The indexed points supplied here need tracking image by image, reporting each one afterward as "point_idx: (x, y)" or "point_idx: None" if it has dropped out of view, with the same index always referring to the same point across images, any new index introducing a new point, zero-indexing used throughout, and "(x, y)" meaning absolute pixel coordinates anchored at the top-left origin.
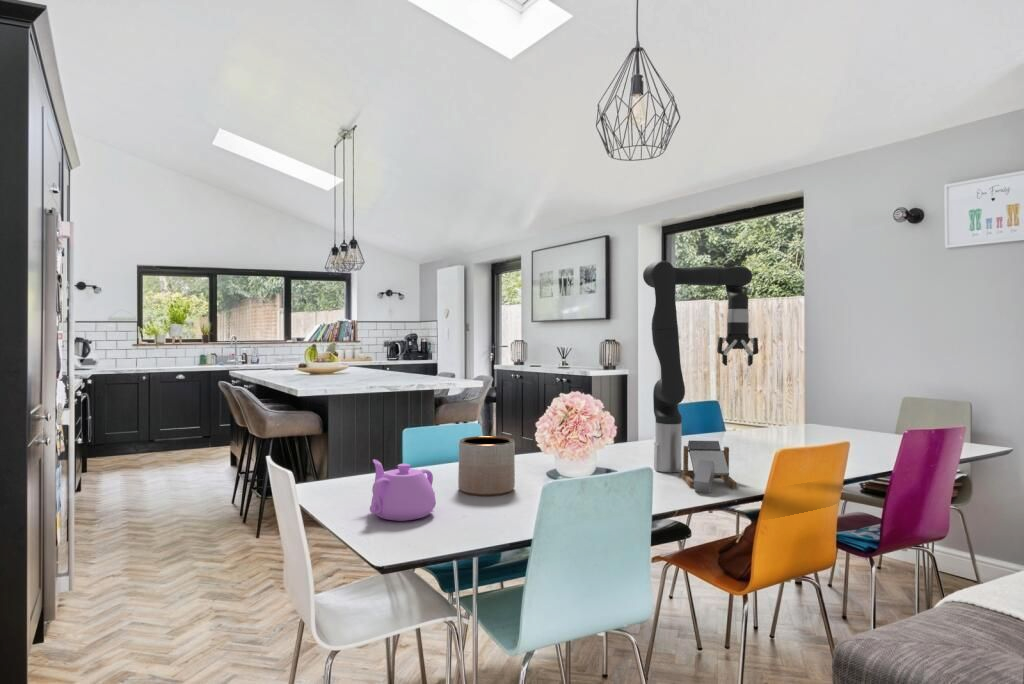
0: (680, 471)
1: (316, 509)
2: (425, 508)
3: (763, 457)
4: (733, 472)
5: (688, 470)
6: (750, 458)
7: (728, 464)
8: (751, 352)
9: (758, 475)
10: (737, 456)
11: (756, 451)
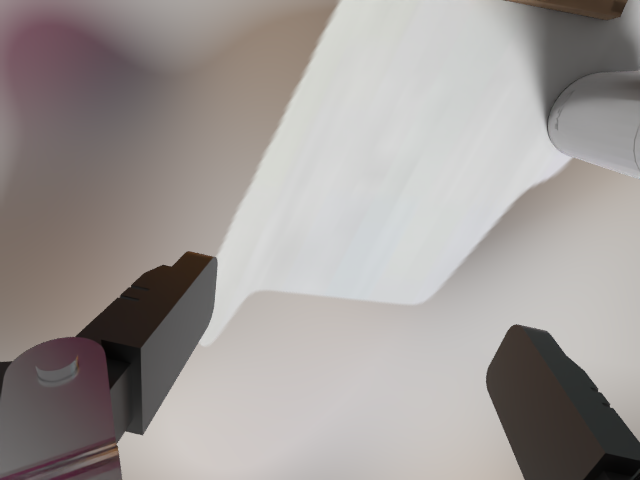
0: (620, 10)
1: None
2: None
3: None
4: (397, 65)
5: (593, 8)
6: (255, 255)
7: None
8: (33, 394)
9: (339, 11)
10: (279, 283)
11: None
